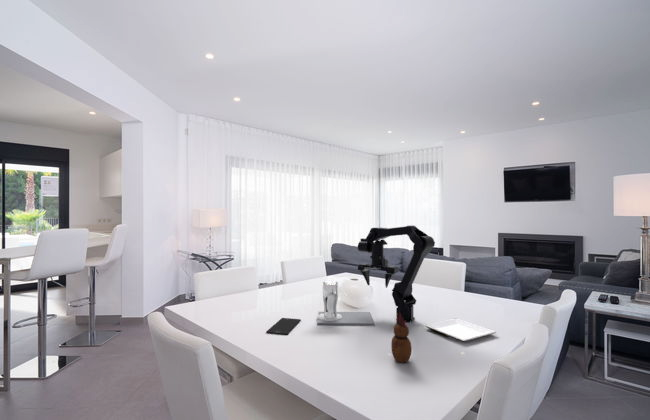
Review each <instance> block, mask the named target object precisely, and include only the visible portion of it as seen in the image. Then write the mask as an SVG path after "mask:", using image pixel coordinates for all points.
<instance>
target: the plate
mask: <svg viewBox="0 0 650 420" xmlns="http://www.w3.org/2000/svg"><path fill="white" fill-rule="evenodd" d="M424 326H425V327H426V328H428V329H430V330H432V331H435V332H438V333H439V334H442V335H445V336H447V337H449V338H450V337H451V338H452V339H455V340H456V341H457V340H458V341H460V342H464V343H465V342H468V341H471V340H475V339H480V338H482V337H486V336H490V335H494V334H496V333H497V331H495V330H492V329H489V328H487V327H484V326H480V325H478V324H474V323H471V322H469V321H465V320H462V319H459V318H452V319H451V318H450V319H446V320H441V321H436V322H432V323H428V324H425V325H424Z"/></svg>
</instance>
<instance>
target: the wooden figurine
mask: <svg viewBox="0 0 650 420" xmlns="http://www.w3.org/2000/svg"><path fill="white" fill-rule="evenodd" d="M396 318H397V320H396V319H395V320H396V324H394V327H393V334H394V335H393V337H392V338H391V343H390V344H391V353H392V357H393V359H394V361H396V362H399V363H400V364H401V363H403V364H404V363H407V362H409V361H410V359H411V355H412V350H413V349H412V343H411V340H410V338H409V337H408V336H409V333H410V331H409V326H408V325H407V324H406V321H403V318H401V314H400V317H399V314H398V311H397V317H396Z"/></svg>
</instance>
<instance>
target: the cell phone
mask: <svg viewBox="0 0 650 420" xmlns="http://www.w3.org/2000/svg"><path fill="white" fill-rule="evenodd" d="M301 321H302V320H301V318H288V317H281V318H280V319H279V320H277V322H276V323H274V324H273V325H272V326H271V327H270V328H269V329H268V330H266V332H265V333H266V334H269V335H270V334H271V335H278V336H279V335H280V336H288V335H289V334H290V333H291V332H292V331H293V330H294V329H295V328H296V327H297V325H299V324H300V322H301Z"/></svg>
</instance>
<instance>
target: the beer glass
mask: <svg viewBox="0 0 650 420" xmlns="http://www.w3.org/2000/svg"><path fill="white" fill-rule="evenodd" d="M322 283H323V284H322V300H323V305H324V306H323V307H324V310H323V312H324V315H323V316H324V318H328V319H333V318H336V317H337V312H338V311H337V305H338V298H339V282H338V281H333V280H326V281H323V282H322Z"/></svg>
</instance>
